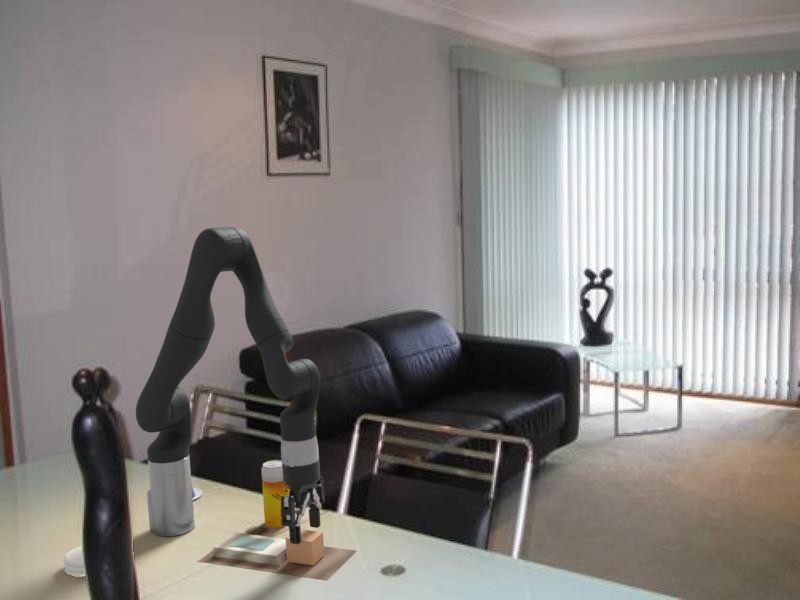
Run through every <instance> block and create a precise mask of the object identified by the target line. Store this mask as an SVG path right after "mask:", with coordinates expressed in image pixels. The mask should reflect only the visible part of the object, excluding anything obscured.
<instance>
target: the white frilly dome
mask: <svg viewBox="0 0 800 600" xmlns="http://www.w3.org/2000/svg"><path fill="white" fill-rule="evenodd" d="M82 546H83V545H80V546H77V547H74V548H72V549H71V550H69V551H68V552H67V553H66V554H64V557H63V567H64V573H65V572H66V573H67V574H69V575H75V576H78V575H79V576H80V575H83V574H85V572H84V565H83V556H82ZM66 573H65V574H66ZM67 574H66V575H67ZM69 575H68V576H69Z"/></svg>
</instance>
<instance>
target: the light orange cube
mask: <svg viewBox="0 0 800 600" xmlns="http://www.w3.org/2000/svg"><path fill="white" fill-rule="evenodd" d="M285 539H286V554H287V562H292V563H300V564H307V565H314V564H315V563H316V562H317V561H318V560H320V559H321V558H322V557H323V556H324V531H316V530H308V529H302V528H301V543H300V544H292V543H291V542H290V534H289V535H287V537H286V538H285Z"/></svg>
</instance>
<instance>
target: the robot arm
mask: <svg viewBox="0 0 800 600" xmlns="http://www.w3.org/2000/svg"><path fill="white" fill-rule="evenodd" d="M262 269H263V268H262V267H261V264H260V262H259V258H258V255H257V252H256V250H255V247H254V245H253V242H252V240H251V238H250V236H249V235H248V234H247V233H246V231H244V230H243V229H241V228H239V227H233V226H232V227H231V226H229V227H226V226H225V227H224V226H223V227H210V228H205V229H204V230H202V231H200V232H199V234H198V235H197V237H196V238H195V241H194V244H193V248H192V251H191V254H190V257H189V263H188V268H187V271H186V275H185V280H184V283H183V286H182V289H181V291H180V292H181V293H180V294H179V295H180V296H179V299H178V301H177V305H176V307H175V310H174V313H173V315H172V317H171V320H170V322H169V325H168V328H167V331H166V332H165V337H164V340H163V343H162V345H161V348H160V350H159V353H158V356H157V358H156V361H155V364H154V366H153V369H152V371H151V372H150V375H149V377H148V379H147V381H146V383H145V385H144V387H143V389H142V391H141V393H140V395H139V396H138V400H137V402H136V407H135V418H136V422H137V424H138V426H139V428H141V430H142V431H143V432H146V433H153V434H154V433H158V435H157V436H156V438H155V439H154V441H152V442H151V443H150V445H148V447H147V450H146V455H147V465H148V477H149V487H150V488H149V490H148V491H147V492H146V498H147V510H148V521H149V523H148V524H149V532H152V533H153V534H155V535H157V536H162V537H175V536H180V535H183V534H186V533H189V532H190V531H192V530H193V529H194V528H195V525H196V524H195V512H194V500H193V498H194V497H193V496H192V487H193V486H192V474H191V459H190V447H191V444H192V409H191V402H190V399H189V396H188V395H187V393H186V391H184V389H183V388H182V387H180V383H182V381H183V380H184V379H185V377H186V376H188V374H189V373H190V372H191V371H192V370H193V369H194V367H195V366H196V365H197V364H198V363H199V361H200V360H201V359H202V358H203V357H204V355H205V353H206V351H207V348H208V347H209V344H210V342H211V339H212V336H213V334H214V330H215V325H216V324H215V316H214V310H213V306H212V301H211V298H212V297H211V295H212V291H213V289H214V286H215V284H216V280H217V278H218V276H219V275H220V274H221V273H223V272H225V273H226V272H233V273H234V275H235V277H236V278H237V280H238V281H239V282H240V284H241V287H242V290H243V294H244V295H243V296H244V318H245V322H246V327H247V329H248V331H249V333H250V335H251V337H252V339H253V341H254V343H255V345H256V346H257V348H258V351H259V352H260V355H261V359H262V363H263V368H264V372H265V377H266V381H267V385H268V387H269V389H270V391H271V392H272V393H273V394H274V395H275V396H276V397H277V398H279V399H280V400H286V401H287V400H291V399H292V400H291V402H290V404H289V405H288V406H287V407H286V408H285V409H283V410H282V411H281V412H280V416H279V417H280V418H279V425H280V435H281V439H280V440H281V442H280V443H281V444H280V454H281V460H282V470H283V481H284V483H285V484H287V485H288V486H289V487H290V490H289V495H288V496H282V497H281V518H282V526H284V527H288V529H289V530H288V531H289V535H290V542H291V543H292V544H300V543H301V529H302V528H301V522H302V517H303V516H305V514H306V513H305V512H306V510H307V508H308V517H309V518H308V519H309V526H310V527H311V528H316V529H318V528H320V527H321V525H322V524H321V509H322V504H324V503H325V502H326V497H325V495H326V494H325V486H324V478H323V476H322V475H321V469H320V468H321V466H320V455H319V444H318V438H317V429H316V417H315V416H316V412H317V407H318V402H319V396H320V395H319V394H320V390H321V375H320V371H319V369H318V366H317V365H316V364H315V362H313V361H312V360H311V359H308V358H300V359H296V360H294V361H290V362H288V359H287V355H286V353H288V352H289V351H290V350H292V348H293V347H294V339H293V336H292V334H291V332H290V331H289V329H288V327H287V325H286V324H285V321H284V319H283V318H282V316H281V314H280V313H279V311H278V308H277V307H276V305H275V304H276V303H275V302H274V299H273V298H272V295H271V292H270V289H269V287H268V284H267V281H266V278H265V276H264V272H263V270H262ZM286 515H288V518H287V516H286Z"/></svg>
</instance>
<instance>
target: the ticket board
mask: <svg viewBox="0 0 800 600" xmlns="http://www.w3.org/2000/svg"><path fill="white" fill-rule="evenodd" d="M212 548H213V549H212V550H211V551H210V552H208V553H207V554H206V555H204V556H203V557H201V558H200V559H199V560H197V562H199V563H207V564H213V565H218V566H219V565H220V566H226V567H233V568H239V569H248V570H253V571H261V572H267V573H275V574H280V575H281V574H282V575H286V576H287V575H289V576H295V577H302V578H308V579H315V580H321V581H329V579H330V578H331V577H332V576H333V575H335V574H336V573H337V571H339V569H340V568H342V566H343V565H345V564H346V562H348V561H349V560H350V559H351V558H352V557H353V556H354V555H355V553H357V550H354V549H347V548H339V547H338V548H337V547H334V546H333V547H331V546H324V556H323V557H322V558H321V559H320V560H318V561H317V562H316V563H315V564H314V565H307V564H300V563H292V562H287V554H286V538H281V537H273V536H264V535H258V534H257V535H256V534H251V533H249V534H248V533H243V532H233V533H231V534H230V535H229V536H227V537H226V538H224V539H223V540H221V541H220V542H219V543H217V544H216V545H214V546H213V547H212Z"/></svg>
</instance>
